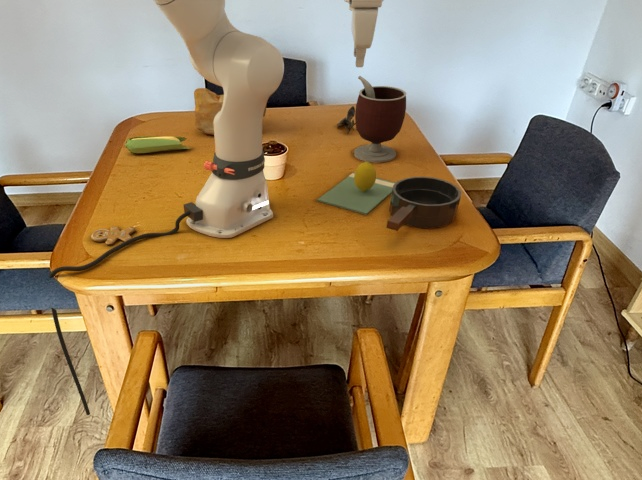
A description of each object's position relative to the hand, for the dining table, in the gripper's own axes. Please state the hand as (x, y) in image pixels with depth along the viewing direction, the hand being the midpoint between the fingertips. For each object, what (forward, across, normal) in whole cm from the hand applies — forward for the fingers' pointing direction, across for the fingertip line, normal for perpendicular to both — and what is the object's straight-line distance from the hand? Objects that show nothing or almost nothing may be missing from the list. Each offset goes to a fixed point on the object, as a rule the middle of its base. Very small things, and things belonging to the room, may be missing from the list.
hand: (358, 61), depth 126 cm
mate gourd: (+29, -18, +8) cm, 36 cm away
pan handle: (+25, +31, +11) cm, 41 cm away
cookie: (+29, +35, -56) cm, 72 cm away
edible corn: (+29, -18, -57) cm, 66 cm away
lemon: (+29, +9, +4) cm, 30 cm away
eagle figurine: (+29, -38, +1) cm, 48 cm away
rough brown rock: (+29, -39, -37) cm, 61 cm away
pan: (+29, +19, +18) cm, 39 cm away
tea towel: (+29, +9, +3) cm, 31 cm away
